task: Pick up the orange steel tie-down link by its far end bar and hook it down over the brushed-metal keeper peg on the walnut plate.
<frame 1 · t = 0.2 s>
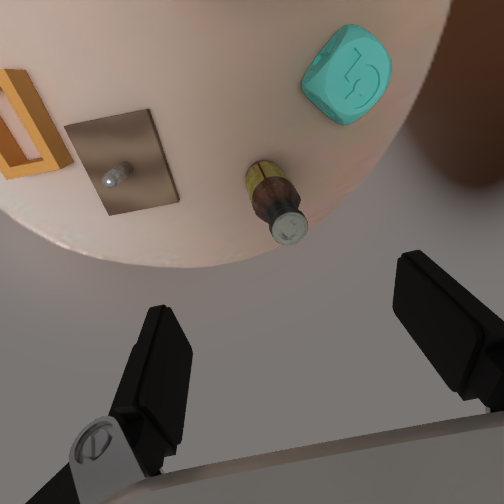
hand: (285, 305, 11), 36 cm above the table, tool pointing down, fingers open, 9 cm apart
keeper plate: (129, 165, 42), on the table
sauce bottle: (263, 176, 45), on the table
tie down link: (25, 125, 38), on the table
decorative dice: (333, 79, 38), on the table
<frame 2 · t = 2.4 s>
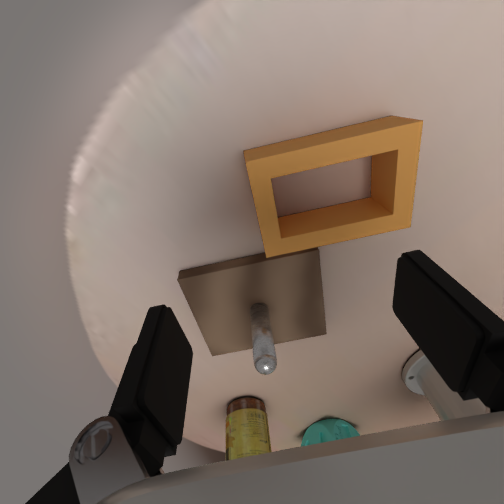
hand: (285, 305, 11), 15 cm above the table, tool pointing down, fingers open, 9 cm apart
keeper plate: (257, 300, 30), on the table
sauce bottle: (246, 405, 41), on the table
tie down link: (320, 181, 23), on the table
decorative dice: (327, 428, 47), on the table
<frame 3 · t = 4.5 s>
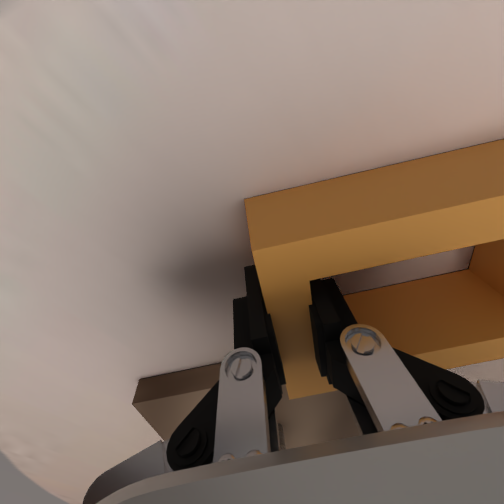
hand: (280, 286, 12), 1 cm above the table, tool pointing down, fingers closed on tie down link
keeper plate: (265, 406, 19), on the table
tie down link: (385, 248, 13), on the table, touching gripper
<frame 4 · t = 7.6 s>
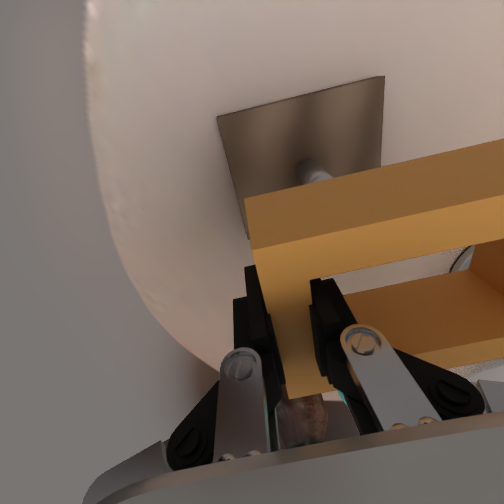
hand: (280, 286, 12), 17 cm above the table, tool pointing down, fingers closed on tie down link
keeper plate: (302, 165, 26), on the table
sauce bottle: (276, 320, 38), on the table
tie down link: (385, 248, 13), point 16 cm above the table, touching gripper
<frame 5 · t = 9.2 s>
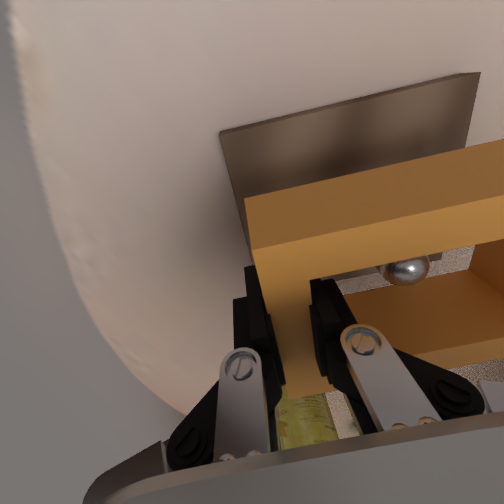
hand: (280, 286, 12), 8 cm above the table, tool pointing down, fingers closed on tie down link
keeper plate: (339, 199, 19), on the table
sauce bottle: (292, 380, 30), on the table
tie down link: (385, 248, 13), point 7 cm above the table, touching gripper
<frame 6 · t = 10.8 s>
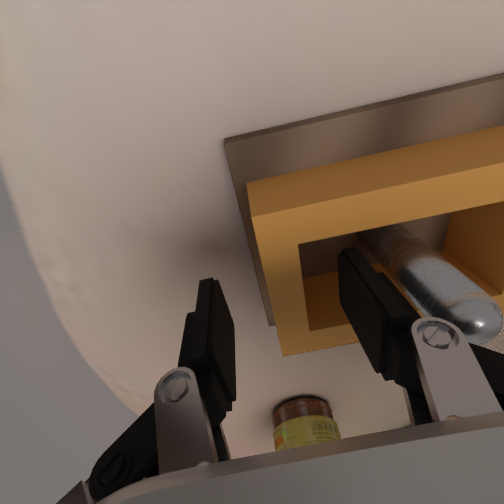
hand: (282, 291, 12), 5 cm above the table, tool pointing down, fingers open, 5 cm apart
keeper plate: (363, 217, 16), on the table
sauce bottle: (301, 409, 27), on the table
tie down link: (368, 228, 15), point 1 cm above the table, touching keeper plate
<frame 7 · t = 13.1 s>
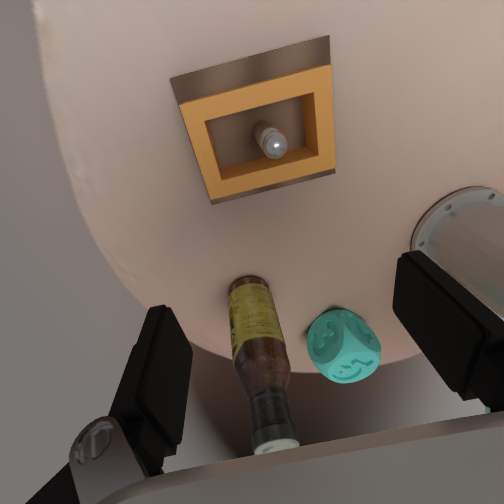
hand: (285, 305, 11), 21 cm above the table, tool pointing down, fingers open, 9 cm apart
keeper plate: (260, 129, 27), on the table
sauce bottle: (249, 290, 39), on the table
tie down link: (258, 131, 26), point 1 cm above the table, touching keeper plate
decorative dice: (332, 324, 45), on the table
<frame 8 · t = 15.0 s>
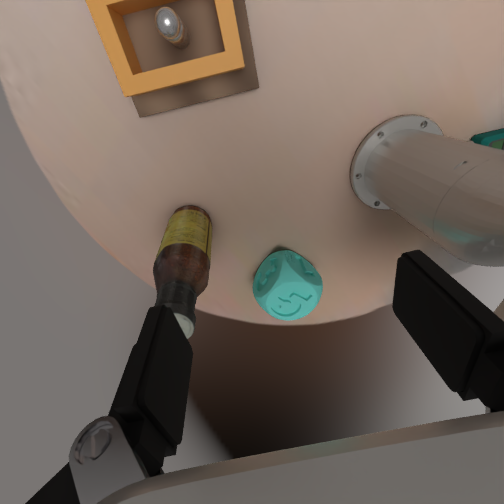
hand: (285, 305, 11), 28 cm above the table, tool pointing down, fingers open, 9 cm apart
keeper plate: (182, 38, 28), on the table
sauce bottle: (192, 223, 40), on the table
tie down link: (176, 36, 27), point 1 cm above the table, touching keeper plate
decorative dice: (282, 269, 46), on the table
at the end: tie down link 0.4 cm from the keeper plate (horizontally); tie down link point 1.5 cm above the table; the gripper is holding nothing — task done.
